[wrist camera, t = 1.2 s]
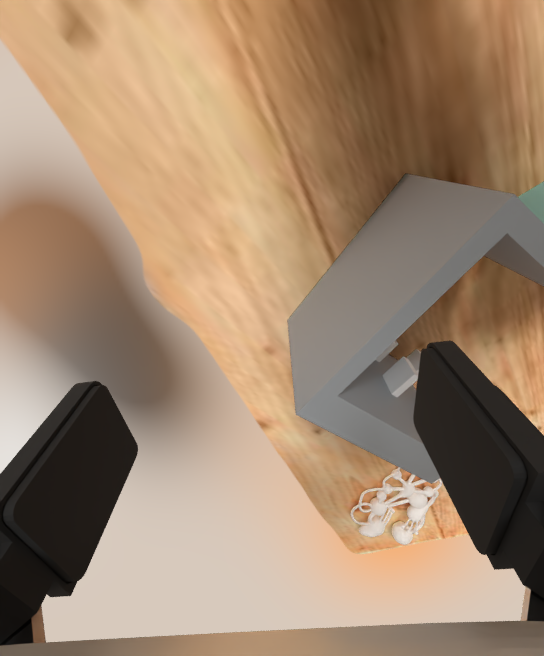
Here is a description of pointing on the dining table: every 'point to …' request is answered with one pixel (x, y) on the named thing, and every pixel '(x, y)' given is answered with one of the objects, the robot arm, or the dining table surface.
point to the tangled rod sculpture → (379, 506)
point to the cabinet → (397, 308)
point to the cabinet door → (535, 200)
